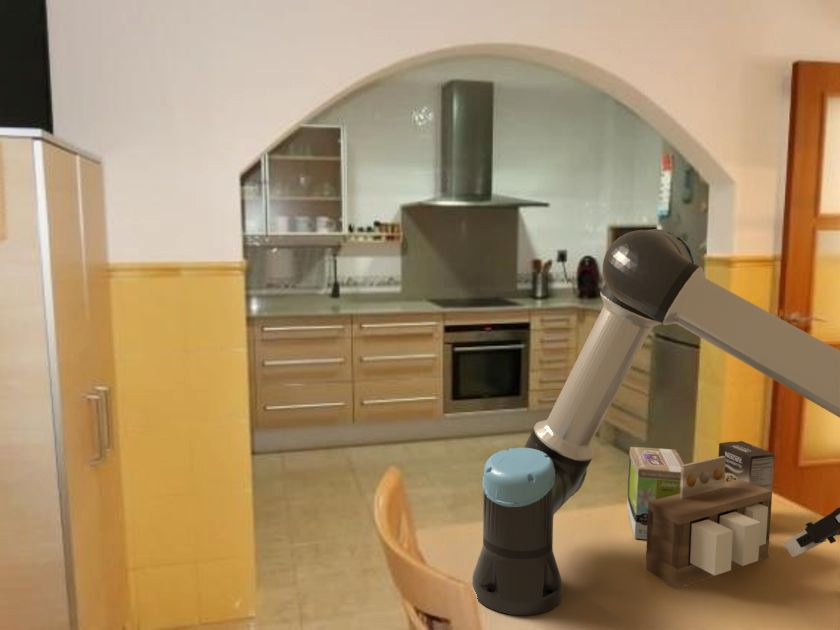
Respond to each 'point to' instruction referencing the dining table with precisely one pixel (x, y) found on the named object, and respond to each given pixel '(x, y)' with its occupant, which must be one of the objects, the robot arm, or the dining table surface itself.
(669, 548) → the console
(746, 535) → the middle button
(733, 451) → the coffee box
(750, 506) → the right button
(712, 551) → the left button
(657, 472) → the tea box
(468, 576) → the dining table surface
